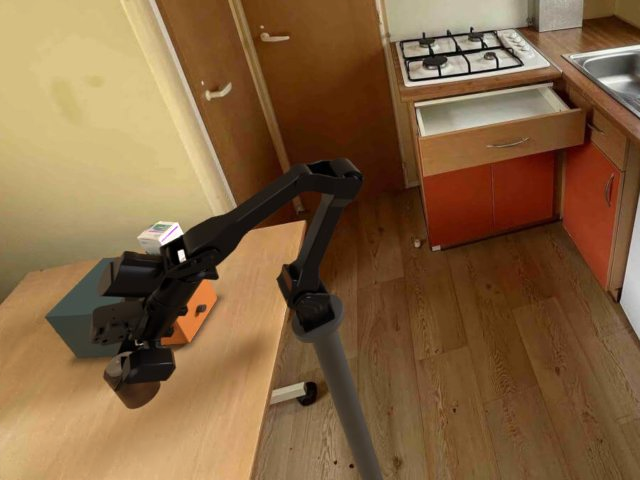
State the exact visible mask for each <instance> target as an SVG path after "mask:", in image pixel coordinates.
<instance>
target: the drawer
mask: <svg viewBox="0 0 640 480" xmlns="http://www.w3.org/2000/svg"><path fill="white" fill-rule="evenodd" d="M217 300H218V297H217V294H216V292H215V290H214V288H213V287H212V284H211V282H210V280H206V279H204V280H203V281H202V282H201V284H200V285H199V287H198V288H197V290H196V291H195V293H194V295H193V296H192V298H191V299H190V301H189V302H188V304H187V307H188V312H187V314H186V316H179V317H178V319H177V320H176V322H175V323H174V325H173V327H174V334H173V335H172V337H165V338H161V343H162V346H164V345H165V346H166V345H180V344H190V343H191V341H192V340H193V338H194V337H195V335H196V333H198V330H200V327H201V326H202V324H203V323H204V321H205V320H206V318H207V316H208V314H209V312H211V309H212V308H213V307H214V305H215V303H216V302H217Z"/></svg>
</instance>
